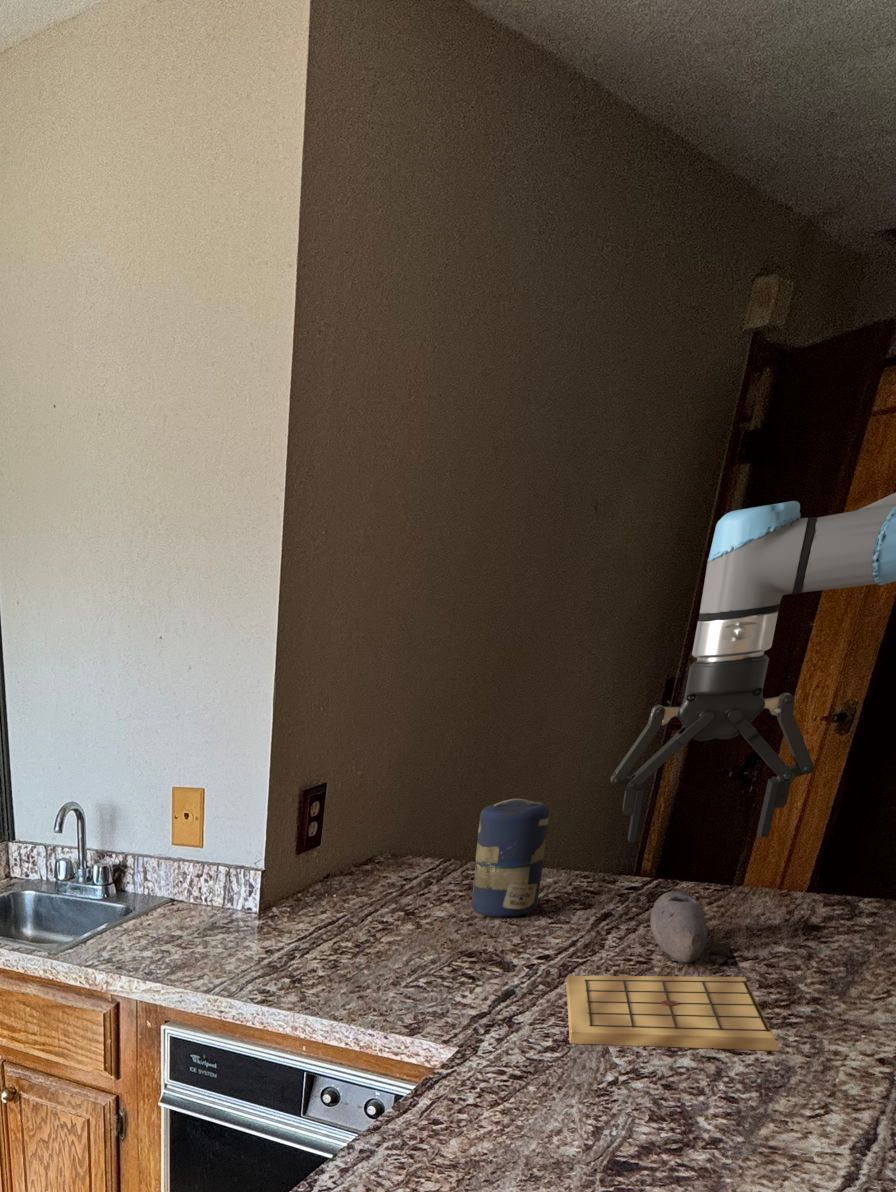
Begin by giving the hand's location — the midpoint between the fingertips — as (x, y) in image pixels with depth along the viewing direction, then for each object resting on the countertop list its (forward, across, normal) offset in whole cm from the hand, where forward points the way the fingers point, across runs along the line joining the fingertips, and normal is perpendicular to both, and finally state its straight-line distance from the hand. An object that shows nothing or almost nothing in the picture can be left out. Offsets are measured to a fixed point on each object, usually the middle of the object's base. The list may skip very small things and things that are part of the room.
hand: (695, 837), depth 127 cm
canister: (+16, -20, +23) cm, 34 cm away
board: (+16, -3, -24) cm, 28 cm away
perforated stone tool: (+16, 0, 0) cm, 16 cm away
